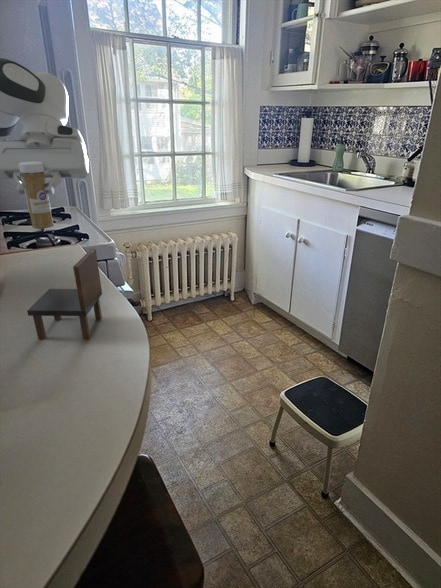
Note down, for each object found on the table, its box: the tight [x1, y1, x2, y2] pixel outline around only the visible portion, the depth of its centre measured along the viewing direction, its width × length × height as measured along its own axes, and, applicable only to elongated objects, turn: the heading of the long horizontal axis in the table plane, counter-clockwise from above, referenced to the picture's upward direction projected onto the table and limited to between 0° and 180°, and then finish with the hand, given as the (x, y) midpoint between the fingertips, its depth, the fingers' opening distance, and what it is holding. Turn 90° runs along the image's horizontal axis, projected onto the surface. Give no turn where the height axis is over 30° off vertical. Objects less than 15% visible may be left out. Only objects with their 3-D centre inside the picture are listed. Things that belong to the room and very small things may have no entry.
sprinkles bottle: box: [19, 161, 55, 230], centre depth 83 cm, size 5×5×14 cm
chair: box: [26, 248, 103, 341], centre depth 70 cm, size 10×9×14 cm
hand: (35, 192), depth 82 cm, fingers closed on sprinkles bottle, 4 cm apart
